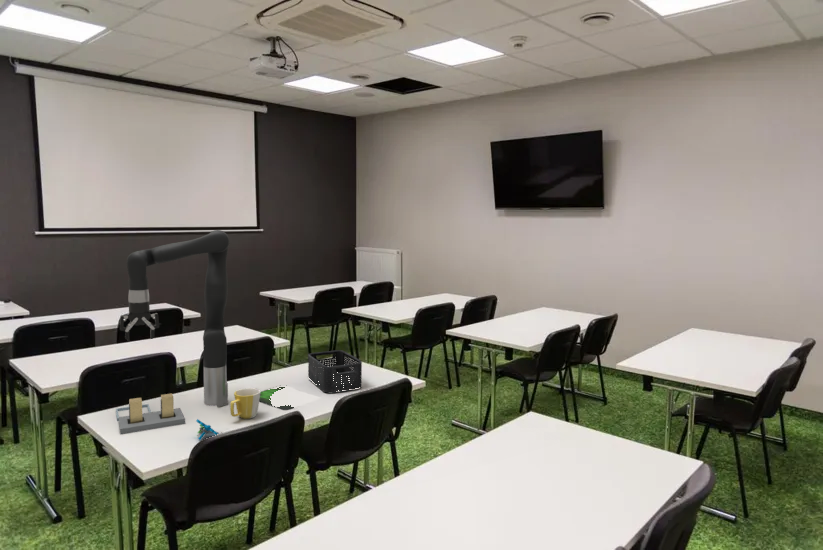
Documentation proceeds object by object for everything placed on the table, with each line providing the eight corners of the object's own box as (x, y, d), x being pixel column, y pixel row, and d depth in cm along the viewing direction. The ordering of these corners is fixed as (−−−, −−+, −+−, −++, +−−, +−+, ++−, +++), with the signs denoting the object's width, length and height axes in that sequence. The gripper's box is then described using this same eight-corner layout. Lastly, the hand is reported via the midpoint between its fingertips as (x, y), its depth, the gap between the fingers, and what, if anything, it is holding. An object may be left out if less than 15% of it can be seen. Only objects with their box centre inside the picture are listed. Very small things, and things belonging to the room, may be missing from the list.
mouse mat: (323, 398, 241) (323, 396, 241) (286, 412, 223) (286, 409, 223) (282, 386, 256) (282, 384, 256) (245, 398, 238) (245, 395, 238)
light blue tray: (148, 408, 222) (148, 403, 221) (151, 418, 211) (151, 413, 211) (115, 413, 215) (115, 408, 215) (117, 423, 205) (117, 418, 205)
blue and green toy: (224, 435, 193) (203, 420, 189) (213, 449, 190) (192, 434, 186) (214, 429, 202) (194, 415, 197) (204, 443, 199) (183, 428, 195)
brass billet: (141, 422, 204) (141, 397, 203) (142, 426, 201) (141, 400, 200) (129, 424, 202) (128, 399, 201) (130, 428, 199) (129, 402, 198)
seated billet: (172, 417, 210) (171, 393, 209) (173, 421, 206) (173, 396, 205) (160, 419, 208) (160, 395, 206) (161, 423, 204) (161, 398, 203)
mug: (251, 410, 223) (250, 386, 222) (265, 416, 217) (265, 391, 216) (221, 419, 212) (221, 393, 211) (236, 425, 206) (235, 399, 205)
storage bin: (306, 378, 269) (306, 352, 268) (341, 373, 279) (341, 348, 277) (325, 395, 244) (326, 367, 243) (363, 389, 254) (364, 362, 253)
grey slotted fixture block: (180, 414, 215) (180, 407, 215) (185, 426, 204) (185, 418, 204) (118, 424, 204) (118, 417, 204) (120, 436, 193) (120, 429, 193)
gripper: (119, 302, 208) (120, 343, 209) (159, 300, 215) (160, 339, 217) (118, 300, 214) (119, 339, 216) (157, 298, 221) (158, 336, 223)
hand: (140, 339), depth 216 cm, fingers open, 8 cm apart
